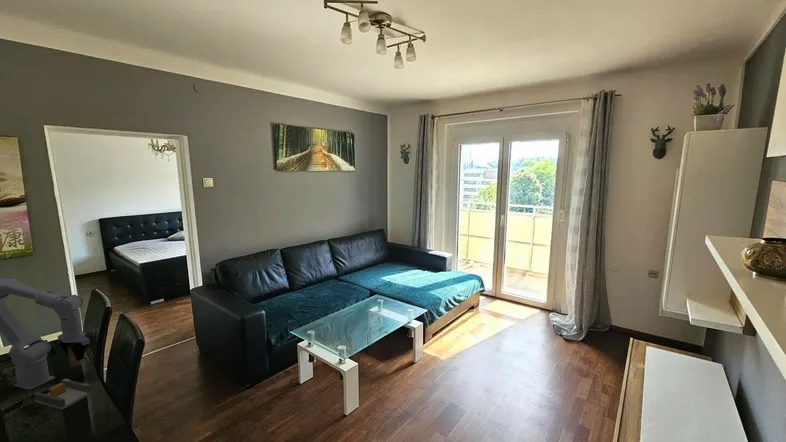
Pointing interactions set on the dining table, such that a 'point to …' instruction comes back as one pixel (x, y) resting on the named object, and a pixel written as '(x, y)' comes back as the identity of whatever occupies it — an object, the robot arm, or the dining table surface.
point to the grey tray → (65, 395)
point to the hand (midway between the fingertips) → (76, 358)
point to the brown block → (73, 359)
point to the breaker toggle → (57, 389)
